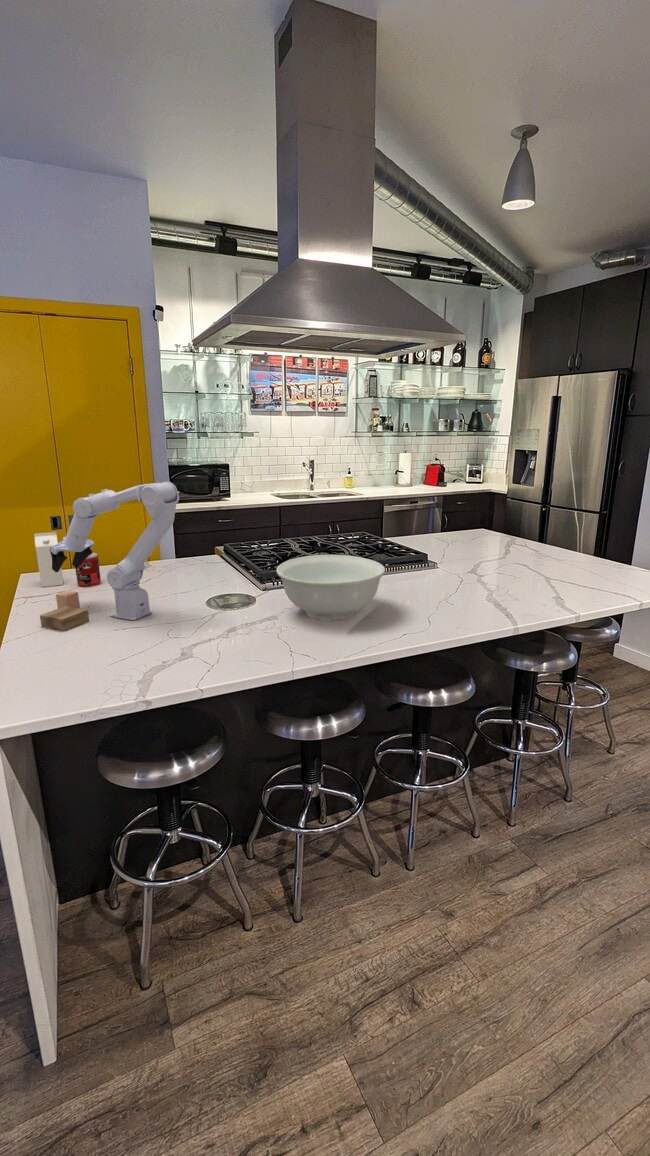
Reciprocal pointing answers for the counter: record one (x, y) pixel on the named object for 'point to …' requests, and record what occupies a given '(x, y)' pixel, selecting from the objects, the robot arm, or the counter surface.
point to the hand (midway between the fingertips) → (65, 568)
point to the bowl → (330, 584)
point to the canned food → (89, 572)
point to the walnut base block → (64, 618)
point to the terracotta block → (68, 599)
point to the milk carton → (47, 559)
